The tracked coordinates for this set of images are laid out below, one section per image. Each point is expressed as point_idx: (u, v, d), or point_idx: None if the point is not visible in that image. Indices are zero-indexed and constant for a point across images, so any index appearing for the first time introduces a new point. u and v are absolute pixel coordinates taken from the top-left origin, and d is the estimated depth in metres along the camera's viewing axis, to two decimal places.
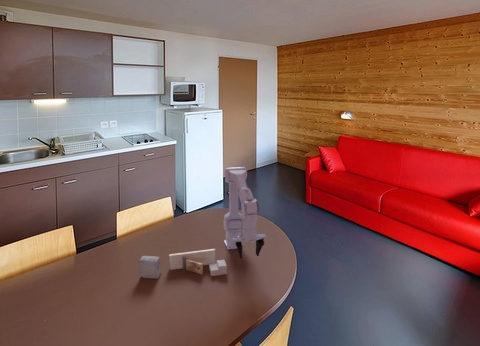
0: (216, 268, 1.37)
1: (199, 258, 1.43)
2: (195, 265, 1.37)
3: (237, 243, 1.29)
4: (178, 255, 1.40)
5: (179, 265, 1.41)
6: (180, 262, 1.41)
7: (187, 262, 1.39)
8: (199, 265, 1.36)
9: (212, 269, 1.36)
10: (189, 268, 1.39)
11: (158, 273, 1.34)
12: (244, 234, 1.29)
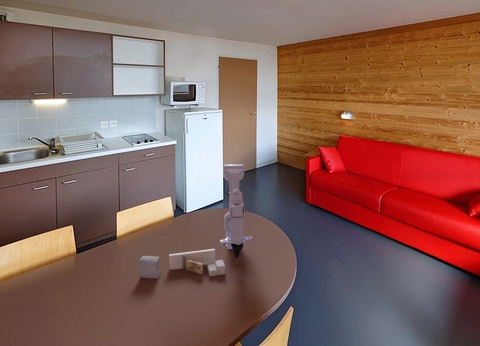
0: (214, 268, 1.37)
1: (199, 258, 1.43)
2: (195, 265, 1.37)
3: (232, 244, 1.36)
4: (178, 255, 1.40)
5: (179, 265, 1.41)
6: (180, 262, 1.41)
7: (187, 262, 1.39)
8: (199, 265, 1.36)
9: (210, 269, 1.36)
10: (189, 268, 1.39)
11: (158, 273, 1.34)
12: (231, 236, 1.35)
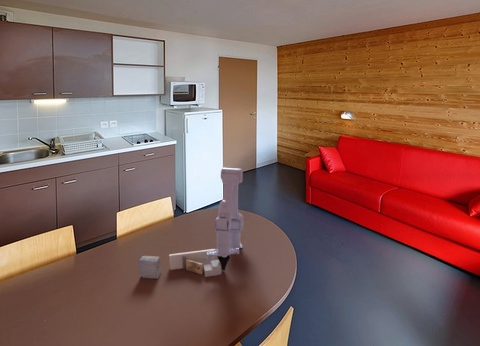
0: (210, 268, 1.36)
1: (199, 258, 1.43)
2: (195, 265, 1.37)
3: (219, 256, 1.36)
4: (178, 255, 1.40)
5: (179, 265, 1.41)
6: (180, 262, 1.41)
7: (187, 262, 1.39)
8: (199, 265, 1.36)
9: (206, 269, 1.36)
10: (189, 268, 1.39)
11: (158, 273, 1.34)
12: (218, 249, 1.35)
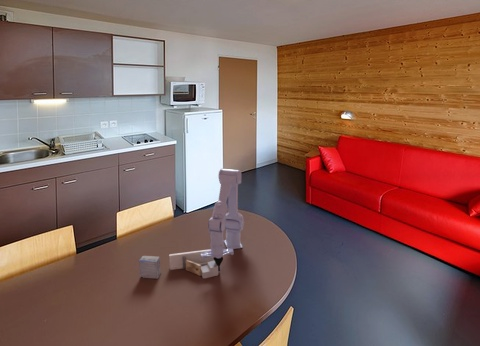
0: (208, 270, 1.35)
1: (199, 258, 1.43)
2: (194, 266, 1.37)
3: (215, 257, 1.35)
4: (178, 255, 1.40)
5: (179, 265, 1.41)
6: (180, 262, 1.41)
7: (187, 262, 1.39)
8: (197, 266, 1.35)
9: (204, 271, 1.34)
10: (188, 268, 1.39)
11: (158, 273, 1.34)
12: (212, 250, 1.34)
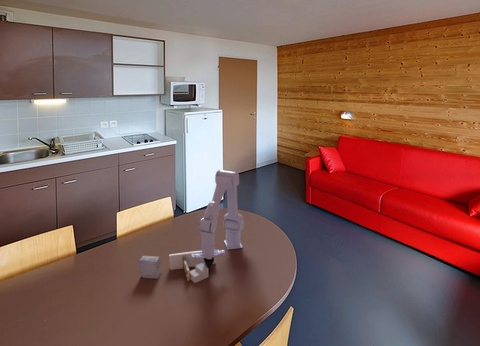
0: (198, 273, 1.33)
1: (199, 258, 1.43)
2: (186, 269, 1.34)
3: (205, 258, 1.35)
4: (178, 255, 1.40)
5: (179, 265, 1.41)
6: (180, 262, 1.41)
7: (184, 263, 1.38)
8: (186, 270, 1.32)
9: (195, 275, 1.31)
10: (184, 270, 1.38)
11: (158, 273, 1.34)
12: (202, 250, 1.33)
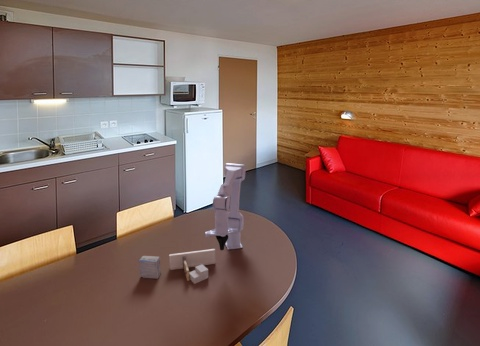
0: (198, 274, 1.32)
1: (199, 258, 1.43)
2: (185, 269, 1.34)
3: (217, 236, 1.36)
4: (178, 255, 1.40)
5: (179, 265, 1.41)
6: (180, 262, 1.41)
7: (184, 263, 1.38)
8: (186, 270, 1.32)
9: (194, 276, 1.31)
10: (184, 270, 1.38)
11: (158, 273, 1.34)
12: (216, 228, 1.35)
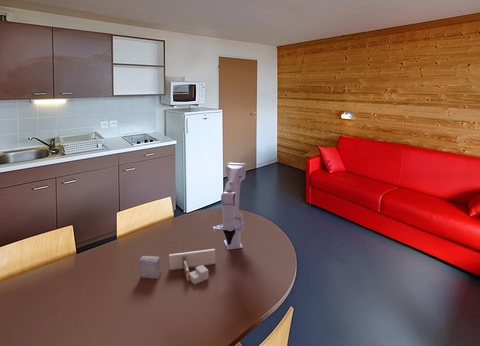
0: (198, 275, 1.32)
1: (199, 258, 1.43)
2: (185, 269, 1.34)
3: (225, 230, 1.41)
4: (178, 255, 1.40)
5: (179, 265, 1.41)
6: (180, 262, 1.41)
7: (184, 263, 1.38)
8: (186, 270, 1.32)
9: (194, 277, 1.31)
10: (184, 270, 1.38)
11: (158, 273, 1.34)
12: (224, 223, 1.39)
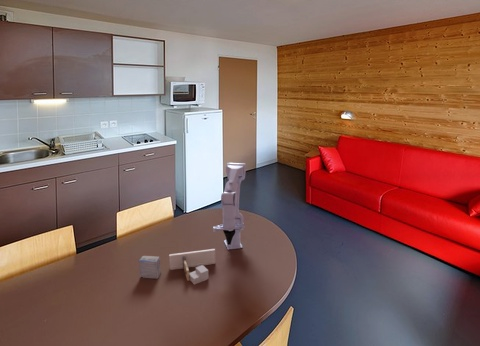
0: (198, 275, 1.32)
1: (199, 258, 1.43)
2: (185, 269, 1.34)
3: (225, 230, 1.41)
4: (178, 255, 1.40)
5: (179, 265, 1.41)
6: (180, 262, 1.41)
7: (184, 263, 1.38)
8: (186, 270, 1.32)
9: (194, 277, 1.30)
10: (184, 270, 1.38)
11: (158, 273, 1.34)
12: (224, 223, 1.39)
